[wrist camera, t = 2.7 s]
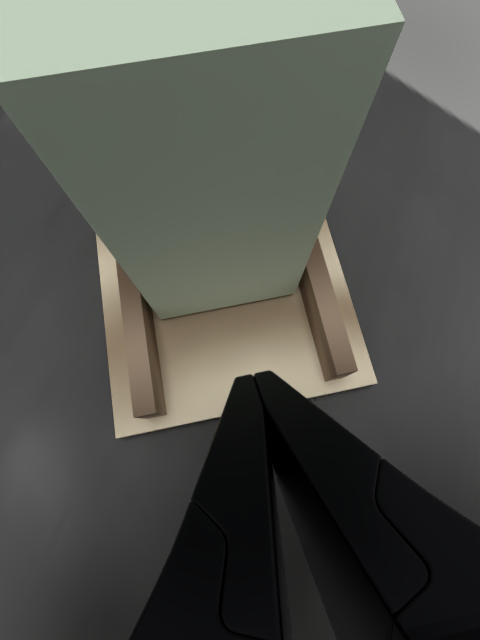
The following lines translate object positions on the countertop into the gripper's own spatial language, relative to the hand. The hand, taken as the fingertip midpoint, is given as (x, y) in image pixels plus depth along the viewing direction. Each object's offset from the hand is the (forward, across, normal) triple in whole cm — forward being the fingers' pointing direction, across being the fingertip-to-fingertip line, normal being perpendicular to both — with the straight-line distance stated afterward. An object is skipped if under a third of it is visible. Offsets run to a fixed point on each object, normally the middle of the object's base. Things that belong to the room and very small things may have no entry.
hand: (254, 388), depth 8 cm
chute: (+12, 0, -2) cm, 12 cm away
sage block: (+9, 0, 0) cm, 9 cm away
